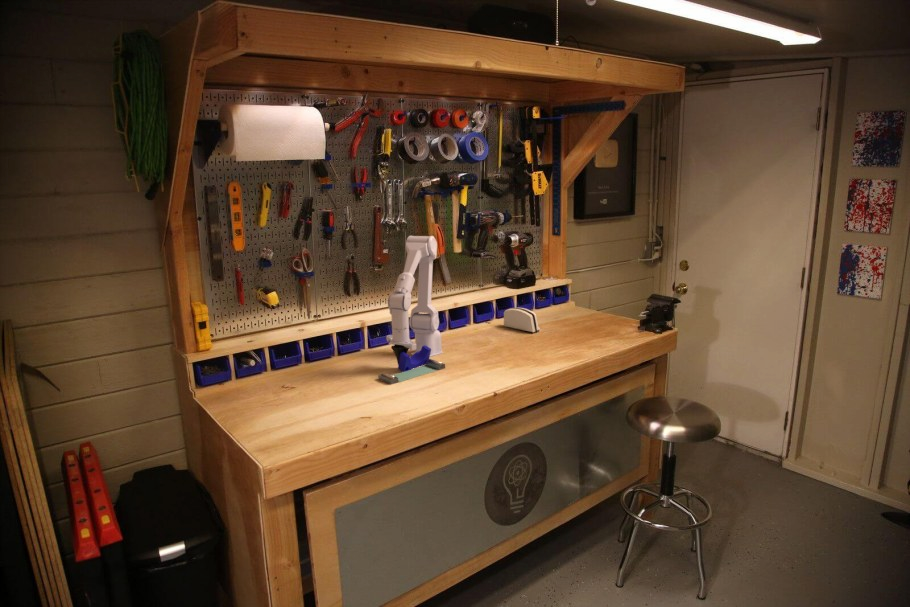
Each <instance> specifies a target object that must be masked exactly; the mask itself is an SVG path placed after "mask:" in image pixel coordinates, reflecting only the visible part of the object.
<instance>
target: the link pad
mask: <svg viewBox="0 0 910 607" xmlns="http://www.w3.org/2000/svg"><path fill="white" fill-rule="evenodd" d="M437 371H438V370H436V369H434V368H431V367H428V366H426V365H422V366H420V367H417V368H414V369H411V370H408V371H405V372H403V371H401V372H399V373H396V374H391V375H392V376H395V377H397V378H398V383H399V382H400V383H401V382H404V381H407V380H410V379H414V378H417V377H421V376H424V375H426V374H430V373H434V372H437Z"/></svg>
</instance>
